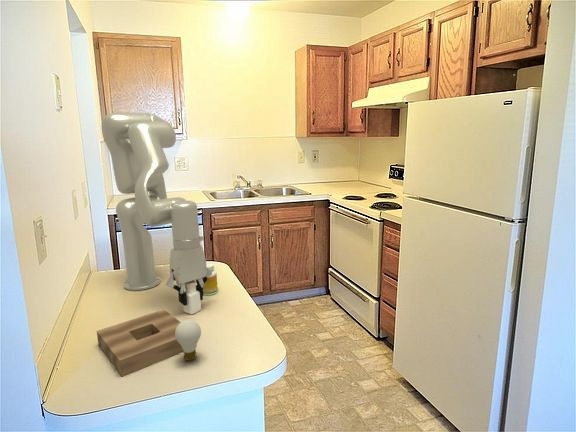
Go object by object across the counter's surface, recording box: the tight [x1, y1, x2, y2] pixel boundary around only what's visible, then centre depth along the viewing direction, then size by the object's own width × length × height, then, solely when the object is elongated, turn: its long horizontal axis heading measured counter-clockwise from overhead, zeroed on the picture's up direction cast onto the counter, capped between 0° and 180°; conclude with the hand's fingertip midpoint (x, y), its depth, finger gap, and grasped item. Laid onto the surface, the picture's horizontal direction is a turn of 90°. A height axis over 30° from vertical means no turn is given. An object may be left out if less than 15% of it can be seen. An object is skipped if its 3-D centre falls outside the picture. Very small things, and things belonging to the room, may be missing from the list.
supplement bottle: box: [203, 263, 219, 296], centre depth 130 cm, size 5×5×10 cm
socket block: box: [96, 309, 184, 377], centre depth 98 cm, size 18×18×4 cm
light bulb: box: [175, 319, 202, 361], centre depth 91 cm, size 6×6×10 cm
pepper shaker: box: [182, 280, 202, 315], centre depth 117 cm, size 4×4×10 cm
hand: (191, 300), depth 117 cm, fingers closed on pepper shaker, 4 cm apart
